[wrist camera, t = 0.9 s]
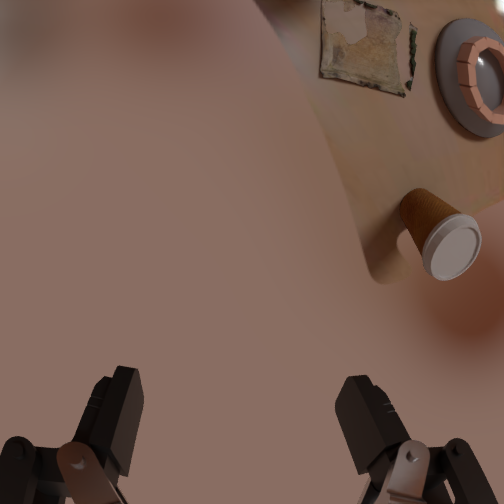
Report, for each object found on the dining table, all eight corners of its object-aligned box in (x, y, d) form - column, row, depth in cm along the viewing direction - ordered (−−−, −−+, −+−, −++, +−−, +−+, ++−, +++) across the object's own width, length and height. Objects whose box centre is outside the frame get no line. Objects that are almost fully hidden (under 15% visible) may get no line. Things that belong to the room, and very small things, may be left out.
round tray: (424, 6, 18) (440, 3, 15) (506, 34, 16) (523, 37, 12) (438, 133, 29) (455, 142, 26) (512, 137, 27) (527, 145, 24)
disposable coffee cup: (384, 191, 35) (425, 240, 25) (436, 169, 32) (485, 209, 23) (396, 241, 40) (428, 293, 30) (442, 219, 37) (481, 265, 28)
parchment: (408, 99, 27) (412, 100, 26) (314, 77, 27) (316, 77, 26) (416, 19, 20) (420, 19, 19) (321, -11, 19) (323, -13, 19)
